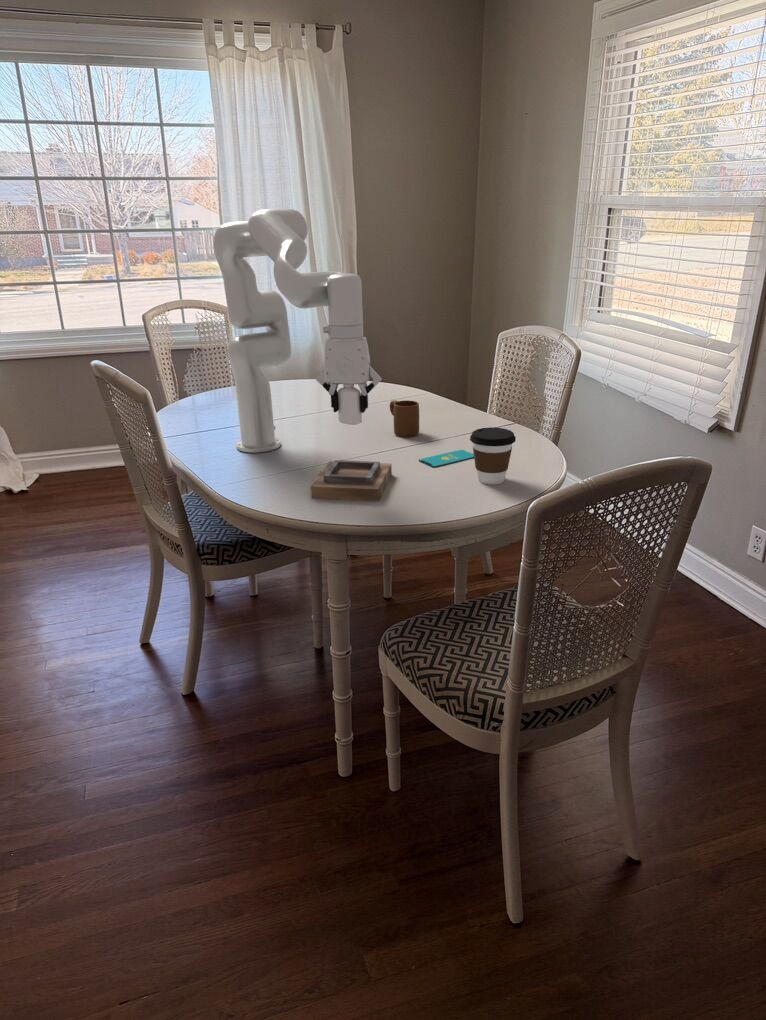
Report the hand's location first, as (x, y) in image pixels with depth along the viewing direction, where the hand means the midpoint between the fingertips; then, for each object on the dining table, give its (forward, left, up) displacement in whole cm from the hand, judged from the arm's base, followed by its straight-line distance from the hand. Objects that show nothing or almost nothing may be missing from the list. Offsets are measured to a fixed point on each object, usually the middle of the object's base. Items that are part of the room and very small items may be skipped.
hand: (349, 410), depth 165 cm
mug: (-46, +5, -19) cm, 50 cm away
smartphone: (-23, +21, -20) cm, 37 cm away
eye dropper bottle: (0, 0, -3) cm, 3 cm away
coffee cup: (-8, +33, -19) cm, 39 cm away
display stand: (0, 0, -19) cm, 19 cm away
